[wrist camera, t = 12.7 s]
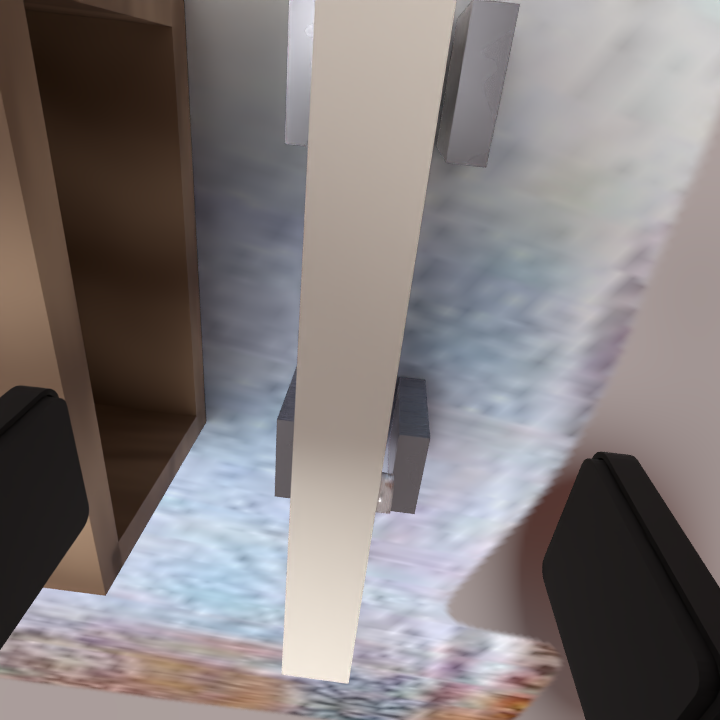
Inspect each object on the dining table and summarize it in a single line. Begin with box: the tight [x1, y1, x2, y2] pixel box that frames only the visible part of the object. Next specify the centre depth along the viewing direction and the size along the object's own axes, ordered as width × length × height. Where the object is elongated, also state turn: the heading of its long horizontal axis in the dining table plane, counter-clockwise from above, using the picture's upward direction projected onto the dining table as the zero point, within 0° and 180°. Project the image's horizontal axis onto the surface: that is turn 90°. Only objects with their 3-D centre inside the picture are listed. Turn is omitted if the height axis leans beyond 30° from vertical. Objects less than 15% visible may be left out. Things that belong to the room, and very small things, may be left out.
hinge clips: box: [275, 0, 520, 514], centre depth 19 cm, size 18×6×4 cm, turn 174°
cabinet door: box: [282, 0, 456, 683], centre depth 16 cm, size 18×3×12 cm, turn 174°
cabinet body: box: [0, 0, 206, 596], centre depth 17 cm, size 18×8×10 cm, turn 174°
